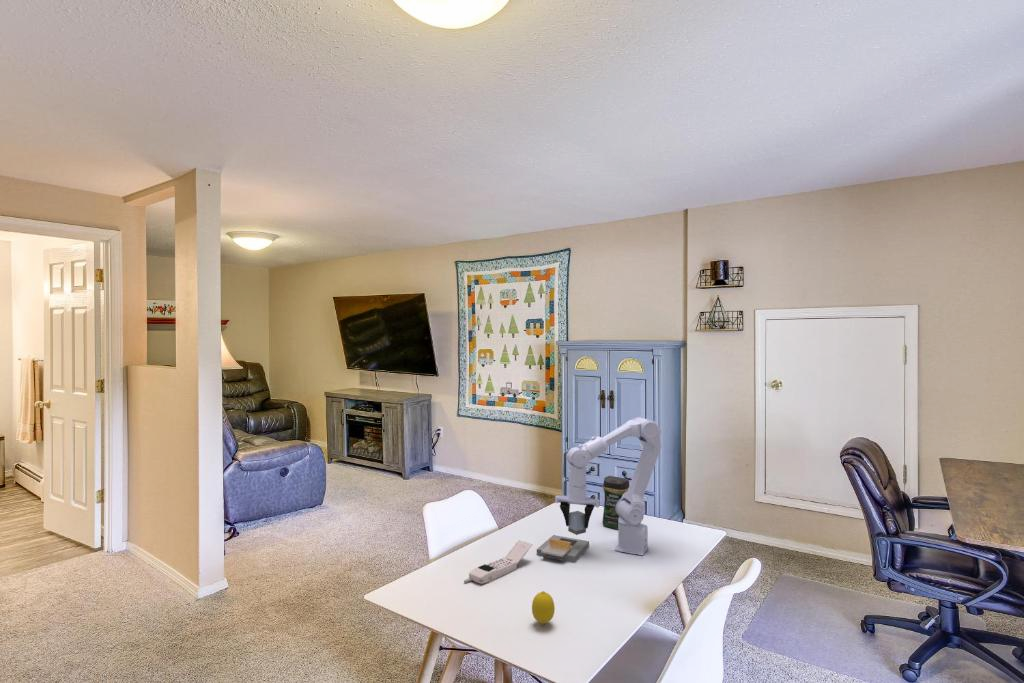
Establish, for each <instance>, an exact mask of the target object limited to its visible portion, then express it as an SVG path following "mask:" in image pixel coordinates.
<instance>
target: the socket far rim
mask: <svg viewBox="0 0 1024 683" xmlns="http://www.w3.org/2000/svg"><path fill="white" fill-rule="evenodd" d="M550 539H556V540H561V538H558V537H553V535H551V536H550V537H549V538H548V539H547V540H546V541H545V542H547V543H550Z"/></svg>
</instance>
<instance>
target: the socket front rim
mask: <svg viewBox="0 0 1024 683" xmlns="http://www.w3.org/2000/svg"><path fill="white" fill-rule="evenodd" d="M552 536H553V537H558V538H561V540H562V541H567V542H571V547H572V546H573V545H574V544H575V543H576V542H577V541H581V542H586V543H588V547H589V548H590V541H589V540H583V539H579V538H578V539H577V538H573V537H572V538H571V537H567V536H563V535H555V534H553V535H552Z"/></svg>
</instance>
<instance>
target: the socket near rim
mask: <svg viewBox="0 0 1024 683" xmlns="http://www.w3.org/2000/svg"><path fill="white" fill-rule="evenodd" d="M571 547H574V548H580V549H582V555H583V554H584V553H585V552H586V551H587V550H588V549H589V548H588V543H586V542H581V541H577V542H576V543H575V544H574V545H573V546H571Z"/></svg>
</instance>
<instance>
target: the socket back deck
mask: <svg viewBox="0 0 1024 683" xmlns="http://www.w3.org/2000/svg"><path fill="white" fill-rule="evenodd" d="M548 544H550V543H547V542H546V541H544V542H543V543H542V544H541V545H540V546H539V547H537V548H536V556H537V555H538V557H542V556H543V557H542V558H547V557H548V558H549V559H552V558H553V560H558V561H562V562H567V561H568V563H572V564H574V563H577V561H578V560H579V559H580V558H581V557H582V555H583V554H582V549H580V548H574V547H572V546H571V547H572V549H571V550H570V551H569V552H568V553H567V554H566V555H565V556H564V557H560V556H555V555H550V554H545V553H541V551H542V550H543V549H544V548H545V547H546V546H547V545H548ZM580 556H581V557H580ZM579 557H580V558H579Z"/></svg>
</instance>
